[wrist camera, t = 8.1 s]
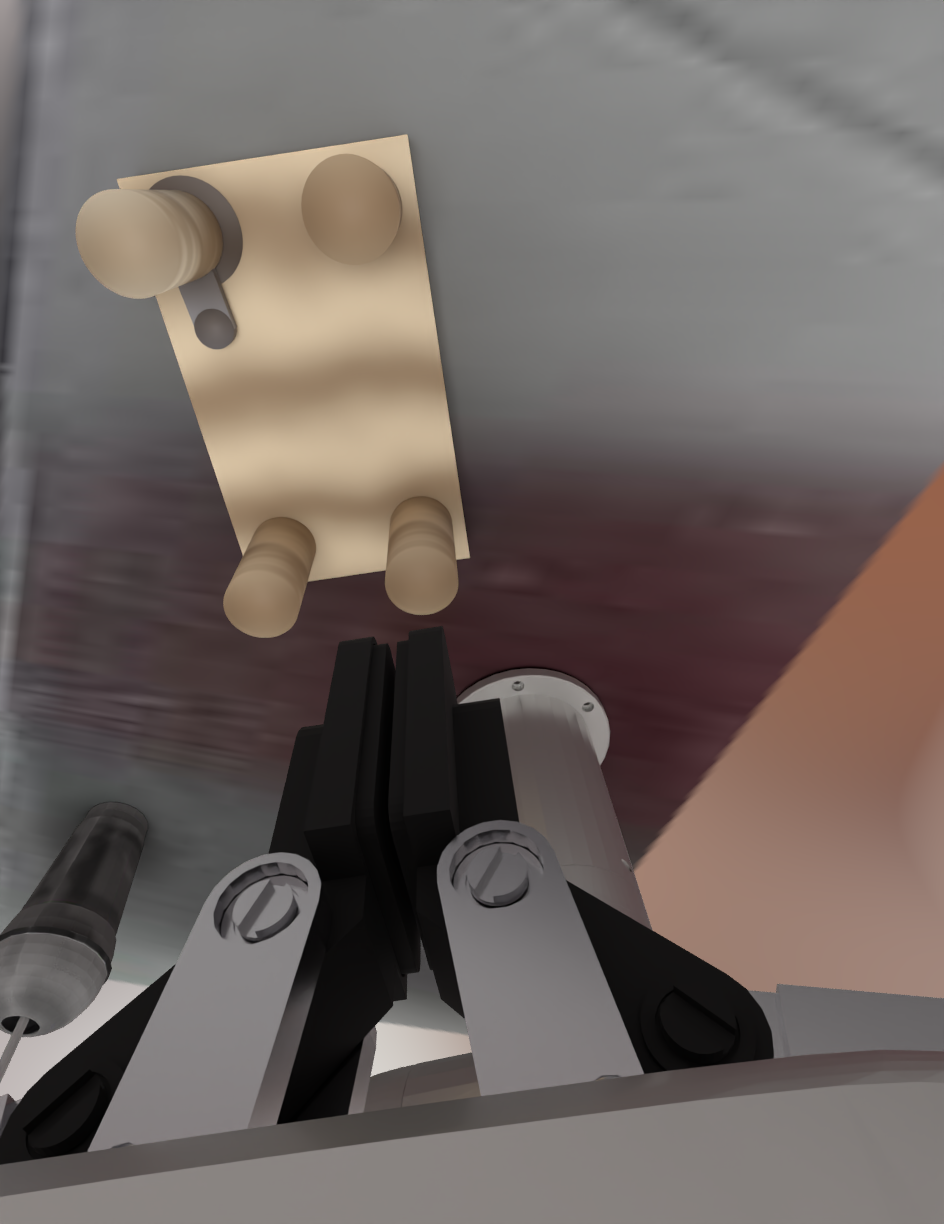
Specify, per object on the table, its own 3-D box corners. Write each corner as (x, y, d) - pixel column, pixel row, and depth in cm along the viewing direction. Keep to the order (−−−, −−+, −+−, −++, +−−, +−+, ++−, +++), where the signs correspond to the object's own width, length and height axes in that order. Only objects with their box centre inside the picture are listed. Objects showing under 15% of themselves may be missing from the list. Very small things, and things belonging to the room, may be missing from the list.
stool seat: (467, 539, 44) (478, 619, 36) (262, 570, 44) (226, 655, 36) (408, 138, 33) (404, 120, 25) (136, 180, 33) (43, 175, 25)
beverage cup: (53, 834, 54) (-115, 1129, 37) (86, 775, 51) (-79, 1065, 34) (145, 866, 57) (27, 1156, 40) (181, 811, 54) (71, 1098, 37)
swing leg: (260, 337, 34) (226, 368, 28) (190, 354, 35) (141, 388, 29) (204, 181, 31) (151, 177, 25) (127, 201, 31) (56, 203, 25)
